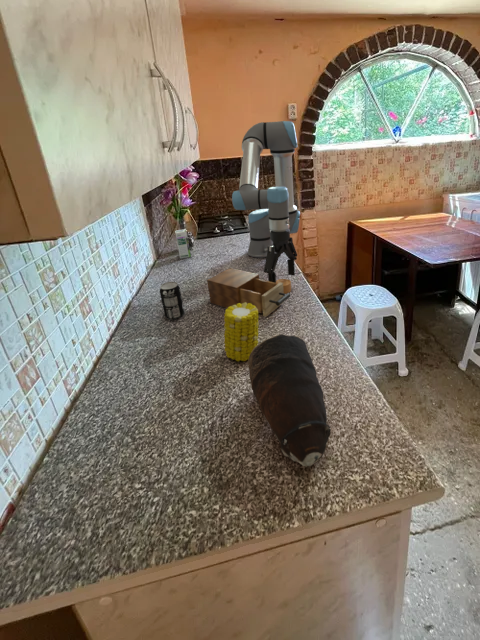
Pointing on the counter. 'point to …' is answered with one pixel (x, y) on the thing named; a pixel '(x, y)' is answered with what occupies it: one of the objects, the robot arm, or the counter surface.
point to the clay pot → (290, 396)
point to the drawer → (263, 295)
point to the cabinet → (228, 286)
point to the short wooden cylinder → (285, 285)
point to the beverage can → (171, 300)
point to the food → (241, 331)
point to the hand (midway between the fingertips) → (282, 281)
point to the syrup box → (183, 243)
